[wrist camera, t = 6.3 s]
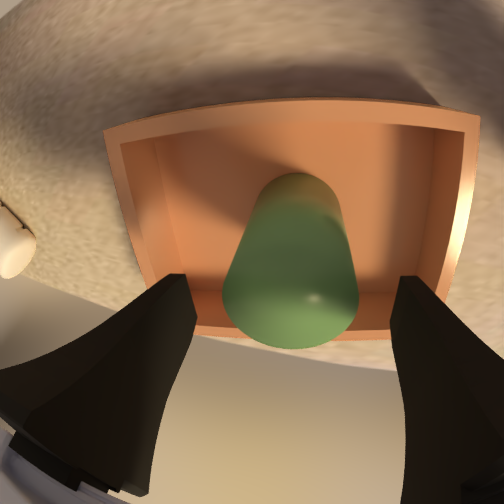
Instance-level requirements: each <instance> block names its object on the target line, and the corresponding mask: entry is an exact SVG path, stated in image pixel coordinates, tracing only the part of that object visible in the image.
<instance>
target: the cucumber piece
mask: <svg viewBox="0 0 504 504" xmlns="http://www.w3.org/2000/svg"><path fill="white" fill-rule="evenodd" d="M222 300H223V305H224V308H225V311H226V313H227V315H228V317H229V318H230V320H231V321H232V322H233V323H234V325H235V326H236V327H237V328H238V329H239V330H240V331H242V332H243V333H244V334H246V335H247V336H249V337H250V338H252V339H254V340H256V341H258V342H260V343H263V344H266V345H268V346H272V347H277V348H283V349H304V348H310V347H315V346H318V345H321V344H324V343H326V342H329V341H331V340H332V339H334V338H336V337H337V336H339V335H340V334H341V333H342V332H344V331H345V330H346V329H347V328H348V326H349V325H350V324H351V323H352V321H353V319H354V318H355V315H356V313H357V310H358V306H359V290H358V285H357V280H356V274H355V269H354V264H353V260H352V255H351V250H350V246H349V241H348V237H347V233H346V228H345V224H344V220H343V216H342V212H341V208H340V204H339V201H338V198H337V196H336V194H335V193H334V191H333V190H332V189H331V188H330V187H329V185H327V184H326V183H325V182H324V181H322V180H321V179H319V178H317V177H315V176H312V175H309V174H304V173H290V174H285V175H282V176H279V177H277V178H275V179H273V180H272V181H271V182H269V183H268V184H267V185H266V186H265V187H264V188H263V190H262V191H261V192H260V194H259V196H258V199H257V201H256V203H255V206H254V208H253V211H252V213H251V216H250V218H249V221H248V223H247V225H246V228H245V230H244V233H243V235H242V238H241V240H240V243H239V245H238V248H237V250H236V253H235V255H234V258H233V260H232V263H231V265H230V268H229V270H228V273H227V275H226V278H225V280H224V283H223V288H222Z"/></svg>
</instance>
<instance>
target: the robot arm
mask: <svg viewBox="0 0 504 504" xmlns="http://www.w3.org/2000/svg"><path fill="white" fill-rule="evenodd" d="M197 318H198V316H197V313H196V310H195V306H194V303H193V299H192V296H191V292H190V289H189V285H188V281H187V278H186V274H177V273H170V274H168V275H166V276H165V277H163V278H162V279H161V280H159V281H158V282H157V283H155V284H154V285H153V286H151V287H150V288H149V289H147V290H146V291H145V292H144V293H142V294H141V295H140V296H138V297H137V298H136V299H134V300H133V301H132V302H131V303H129V304H128V305H127V306H125V307H124V308H123V309H121V310H120V311H118V312H117V313H116V314H114V315H113V316H112V317H110V318H109V319H107V320H106V321H105V322H103V323H102V324H100V325H99V326H97V327H96V328H94V329H93V330H91V331H89V332H88V333H86V334H84V335H83V336H81V337H79V338H78V339H76V340H74V341H72V342H70V343H68V344H66V345H64V346H62V347H60V348H58V349H56V350H54V351H52V352H50V353H48V354H45V355H43V356H41V357H38V358H36V359H33V360H30V361H28V362H25V363H22V364H19V365H16V366H12V367H8V368H5V369H1V370H0V417H1V418H2V419H3V420H4V421H5V422H6V423H8V424H9V425H10V426H11V427H12V428H13V429H14V430H16V432H15V434H14V436H13V435H12V434H10V433H9V432H8V431H7V430H5V429H4V428H3V427H2V426H1V425H0V504H129V503H127V502H125V501H122V500H120V499H118V498H115V497H113V496H111V495H109V494H107V492H108V490H109V489H110V490H112V491H114V492H117V493H119V492H120V490H123V491H126V492H128V493H130V494H133V495H136V496H138V497H142V496H145V495H147V494H148V492H149V482H150V474H151V466H152V461H153V455H154V449H155V444H156V439H157V435H158V431H159V427H160V423H161V419H162V415H163V412H164V408H165V405H166V401H167V398H168V396H169V393H170V390H171V388H172V385H173V383H174V381H175V379H176V376H177V374H178V372H179V369H180V367H181V364H182V362H183V360H184V358H185V355H186V353H187V350H188V348H189V345H190V343H191V340H192V337H193V333H194V330H195V326H196V322H197ZM389 323H390V332H391V341H392V349H393V354H394V358H395V363H396V367H397V372H398V377H399V382H400V387H401V392H402V397H403V403H404V411H405V429H406V430H405V432H406V446H405V469H404V480H403V489H402V496H401V502H400V504H504V359H503V358H501V357H500V356H499V355H498V354H497V353H495V352H494V351H493V350H492V349H491V348H490V347H488V346H487V345H486V344H485V343H484V342H483V341H482V340H481V339H479V338H478V337H477V336H476V335H475V334H474V333H473V332H472V331H471V330H470V329H469V328H468V327H467V326H466V325H465V324H464V323H463V322H462V321H461V320H460V319H459V318H458V317H457V316H456V315H455V314H454V313H453V312H452V311H451V310H450V309H449V308H448V307H447V306H446V304H445V303H444V302H443V301H442V300H441V299H440V298H439V297H438V296H437V295H436V294H435V293H434V292H433V291H432V290H431V289H430V288H429V287H428V286H427V285H426V284H425V283H424V282H423V281H422V280H421V279H420V278H419V277H418V276H400V280H399V284H398V289H397V293H396V297H395V301H394V305H393V309H392V313H391V317H390V321H389Z"/></svg>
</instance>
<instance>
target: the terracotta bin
mask: <svg viewBox="0 0 504 504" xmlns="http://www.w3.org/2000/svg"><path fill="white" fill-rule="evenodd" d="M479 134H480V116H478V115H474V114H471V113H467V112H463V111H460V110H456V109H452V108H448V107H443V106H438V105H431V104H424V103H416V102H407V101H397V100H386V99H371V98H348V97H302V98H279V99H264V100H252V101H242V102H232V103H224V104H216V105H209V106H202V107H196V108H190V109H184V110H178V111H173V112H168V113H163V114H158V115H153V116H149V117H144V118H141V119H137V120H134V121H131V122H127V123H124V124H121V125H118V126H115V127H112V128H109V129H106V130H103V135H104V140H105V144H106V149H107V154H108V158H109V163H110V167H111V171H112V175H113V179H114V183H115V187H116V191H117V195H118V198H119V202H120V206H121V209H122V213H123V216H124V220H125V223H126V227H127V230H128V233H129V236H130V240H131V243H132V246H133V249H134V252H135V255H136V258H137V261H138V264H139V267H140V270H141V273H142V276H143V278H144V281H145V284H146V287H147V289H149V288H150V287H151V286H153V285H154V284H155V283H157V282H158V281H159V280H161V279H162V278H163V277H165V276H166V275H168V274H170V273H177V274H186V278H187V281H188V285H189V289H190V292H191V296H192V299H193V303H194V306H195V310H196V313H197V316H198V318H197V322H196V326H195V330H194V333H193V334H195V335H206V336H218V337H232V338H248V339H252V338H250V337H249V336H247V335H246V334H244V333H243V332H242V331H240V330H239V329H238V328H237V327H236V326H235V325H234V323H233V322H232V321H231V320H230V318H229V317H228V315H227V313H226V311H225V308H224V305H223V300H222V288H223V283H224V280H225V278H226V275H227V273H228V270H229V268H230V265H231V263H232V260H233V258H234V255H235V253H236V250H237V248H238V245H239V243H240V240H241V238H242V235H243V233H244V230H245V228H246V225H247V223H248V221H249V218H250V216H251V213H252V211H253V208H254V206H255V203H256V201H257V199H258V196H259V194H260V192H261V191H262V190H263V188H264V187H265V186H266V185H267V184H268V183H269V182H271V181H272V180H273V179H275V178H277V177H279V176H282V175H285V174H290V173H304V174H309V175H312V176H315V177H317V178H319V179H321V180H322V181H324V182H325V183H326V184H327V185H329V187H330V188H331V189H332V190H333V191H334V193H335V194H336V196H337V198H338V201H339V204H340V208H341V212H342V216H343V220H344V224H345V228H346V233H347V237H348V241H349V246H350V250H351V255H352V260H353V264H354V269H355V274H356V280H357V285H358V290H359V306H358V310H357V313H356V315H355V318H354V319H353V321H352V323H351V324H350V325H349V326H348V328H347V329H346V330H345V331H344V332H342V333H341V334H340V335H339V336H337V337H336V338H334V339H332V340H331V341H356V340H386V339H391V332H390V323H389V321H390V317H391V313H392V309H393V305H394V301H395V297H396V293H397V289H398V284H399V280H400V276H418V277H419V278H420V279H421V280H422V281H423V282H424V283H425V284H426V285H427V286H428V287H429V288H430V289H431V290H432V291H433V292H434V293H435V294H436V295H437V296H438V297H439V298H440V299H441V300H442V301H443V302H444V303H445V300H446V297H447V294H448V291H449V288H450V285H451V282H452V279H453V276H454V272H455V269H456V266H457V262H458V259H459V255H460V251H461V247H462V243H463V239H464V235H465V231H466V226H467V222H468V217H469V212H470V207H471V201H472V195H473V189H474V183H475V175H476V168H477V159H478V148H479Z"/></svg>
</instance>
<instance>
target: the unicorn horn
mask: <svg viewBox="0 0 504 504" xmlns="http://www.w3.org/2000/svg"><path fill="white" fill-rule="evenodd" d="M22 227H23V224H22V223H21V222H20V221H19V220H18V219H17V218H16V217H15V216H14V215H13V214H12V213H11V212H10V211H9V210H8V209H7V208H6V207H4V206H2V203H1V202H0V275H1V276H2V278H6V279H8V278H12V277H15V276H16V275H18V274H19V273H20V272H21V271H22V270H23V269H24V268H25V267H26V266H27V265H28V264H29V262H30V261H31V259H32V258H33V255H34V253H35V251H36V239H35V237H34V235H33V234H32V233H31V232H30V231H29V230H28V229H23V228H22Z"/></svg>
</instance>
